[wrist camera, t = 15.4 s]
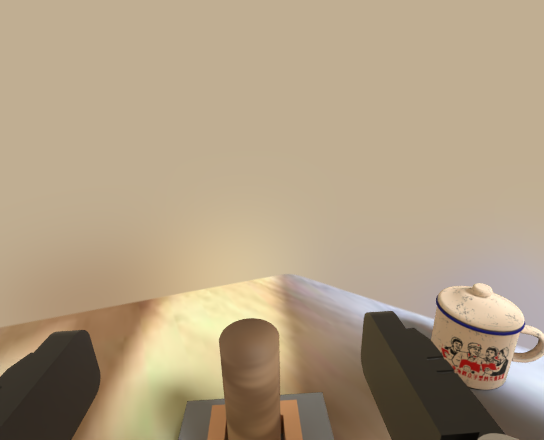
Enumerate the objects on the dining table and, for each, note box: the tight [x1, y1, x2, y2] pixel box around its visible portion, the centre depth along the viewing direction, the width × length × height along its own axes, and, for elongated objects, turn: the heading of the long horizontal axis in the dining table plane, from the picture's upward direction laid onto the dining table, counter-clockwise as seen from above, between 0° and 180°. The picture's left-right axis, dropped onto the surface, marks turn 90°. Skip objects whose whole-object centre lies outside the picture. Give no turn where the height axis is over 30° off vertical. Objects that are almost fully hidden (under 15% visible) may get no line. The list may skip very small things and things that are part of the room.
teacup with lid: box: [431, 283, 544, 390], centre depth 37 cm, size 12×9×12 cm
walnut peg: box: [219, 318, 281, 440], centre depth 24 cm, size 4×4×14 cm
